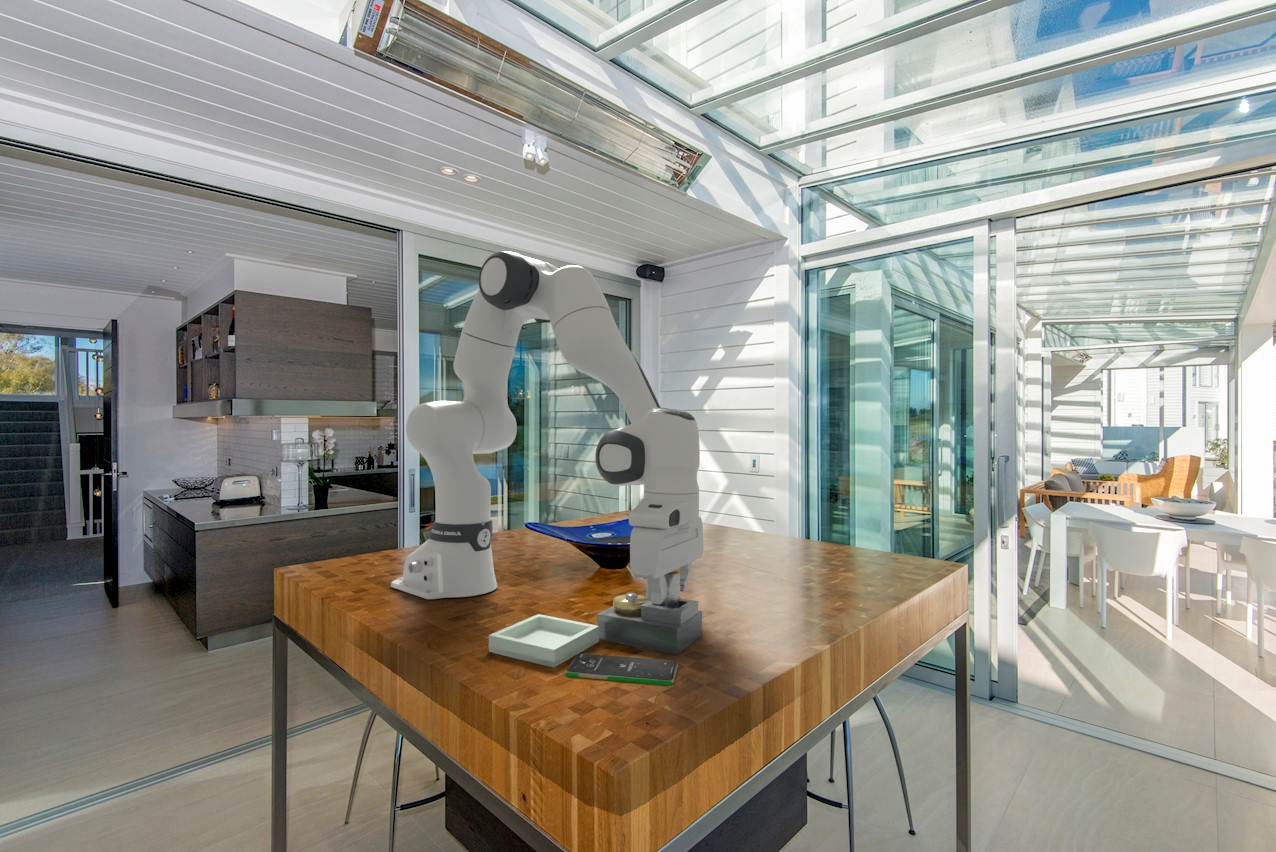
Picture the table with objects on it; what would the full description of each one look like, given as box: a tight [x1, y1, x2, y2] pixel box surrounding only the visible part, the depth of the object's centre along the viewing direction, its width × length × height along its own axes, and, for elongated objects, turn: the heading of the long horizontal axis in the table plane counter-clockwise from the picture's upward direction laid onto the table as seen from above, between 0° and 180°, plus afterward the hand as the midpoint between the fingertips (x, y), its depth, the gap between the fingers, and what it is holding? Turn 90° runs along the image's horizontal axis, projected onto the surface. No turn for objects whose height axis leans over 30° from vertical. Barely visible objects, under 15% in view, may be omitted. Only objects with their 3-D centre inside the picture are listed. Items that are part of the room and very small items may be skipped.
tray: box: [488, 613, 600, 669], centre depth 92 cm, size 12×12×2 cm
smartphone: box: [564, 652, 679, 686], centre depth 84 cm, size 8×1×15 cm
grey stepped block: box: [596, 592, 703, 656], centre depth 97 cm, size 14×10×6 cm
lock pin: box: [661, 568, 681, 609], centre depth 95 cm, size 3×3×8 cm
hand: (670, 596), depth 95 cm, fingers open, 7 cm apart
